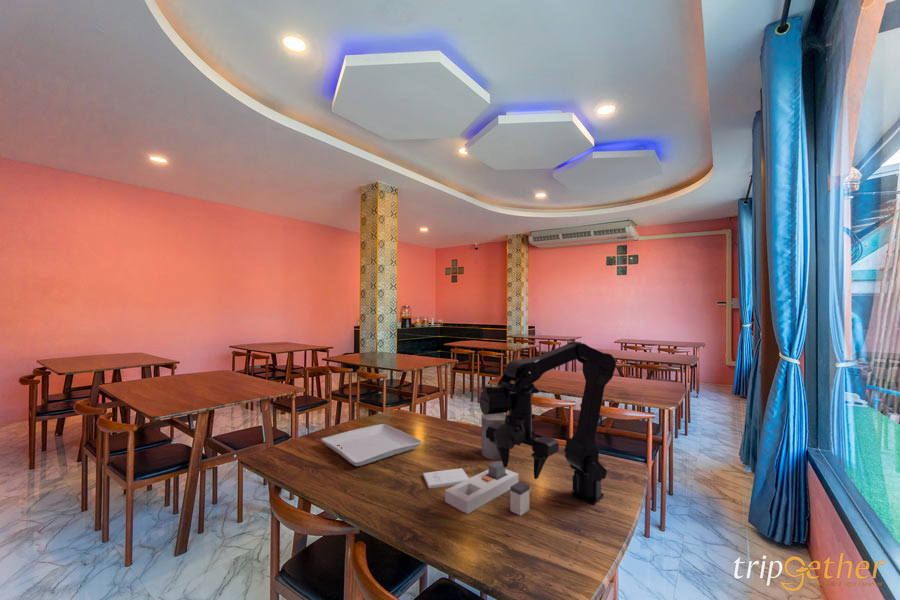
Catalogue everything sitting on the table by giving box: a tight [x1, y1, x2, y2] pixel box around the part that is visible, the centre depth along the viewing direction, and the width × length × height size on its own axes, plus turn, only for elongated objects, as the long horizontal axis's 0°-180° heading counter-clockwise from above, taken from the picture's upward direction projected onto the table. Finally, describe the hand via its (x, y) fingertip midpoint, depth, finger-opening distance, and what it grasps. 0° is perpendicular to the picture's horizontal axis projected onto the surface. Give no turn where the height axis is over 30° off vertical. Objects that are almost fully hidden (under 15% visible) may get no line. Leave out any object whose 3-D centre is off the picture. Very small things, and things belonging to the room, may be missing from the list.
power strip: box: [444, 468, 519, 515], centre depth 100 cm, size 8×22×4 cm, turn 135°
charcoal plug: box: [488, 460, 506, 480], centre depth 104 cm, size 3×4×6 cm
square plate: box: [320, 423, 423, 467], centre depth 131 cm, size 27×27×4 cm
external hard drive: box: [422, 467, 470, 489], centre depth 107 cm, size 2×8×12 cm
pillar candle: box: [481, 413, 508, 461], centre depth 126 cm, size 10×10×15 cm
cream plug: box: [509, 481, 530, 516], centre depth 91 cm, size 3×4×6 cm
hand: (520, 472), depth 91 cm, fingers open, 9 cm apart
